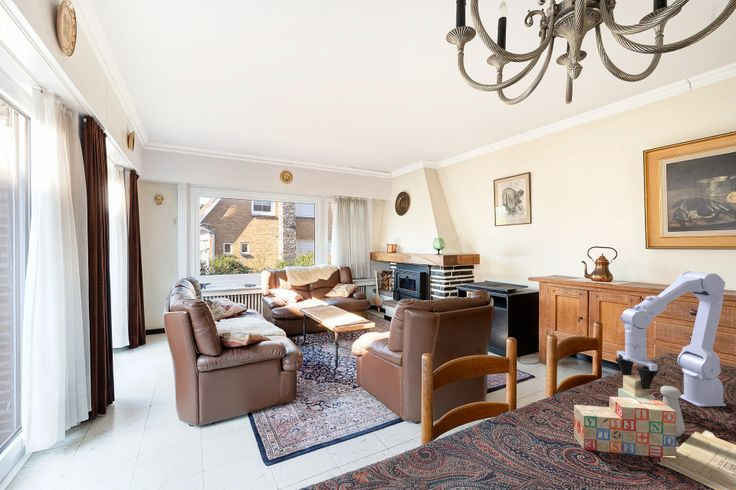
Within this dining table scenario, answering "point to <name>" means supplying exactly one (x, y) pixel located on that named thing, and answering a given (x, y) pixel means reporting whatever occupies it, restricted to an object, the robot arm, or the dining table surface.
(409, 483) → the dining table surface
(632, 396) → the base block
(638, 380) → the maple cube
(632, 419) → the stack of blocks
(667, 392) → the salt shaker
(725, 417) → the dining table surface
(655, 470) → the dining table surface
